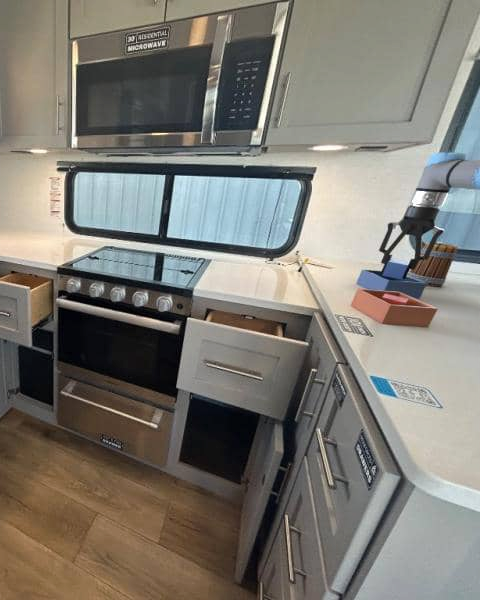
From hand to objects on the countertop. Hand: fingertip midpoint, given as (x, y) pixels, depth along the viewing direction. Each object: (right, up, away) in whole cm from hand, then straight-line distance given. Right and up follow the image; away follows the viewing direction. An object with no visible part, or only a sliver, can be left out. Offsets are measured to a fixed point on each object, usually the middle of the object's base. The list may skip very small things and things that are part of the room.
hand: (393, 275), depth 113 cm
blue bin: (0, -5, +2) cm, 6 cm away
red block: (-20, -12, -19) cm, 30 cm away
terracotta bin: (-20, -13, -19) cm, 30 cm away
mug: (+28, -1, +17) cm, 32 cm away
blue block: (0, 0, 0) cm, 0 cm away
